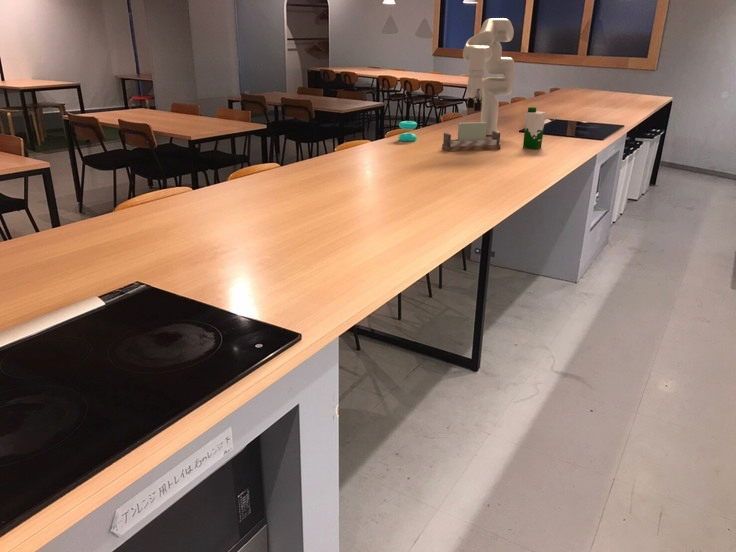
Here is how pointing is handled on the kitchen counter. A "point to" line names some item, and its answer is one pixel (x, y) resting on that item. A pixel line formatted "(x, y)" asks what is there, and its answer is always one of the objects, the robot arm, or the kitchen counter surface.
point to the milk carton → (533, 128)
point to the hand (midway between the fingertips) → (473, 109)
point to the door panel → (472, 131)
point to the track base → (471, 143)
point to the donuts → (407, 135)
